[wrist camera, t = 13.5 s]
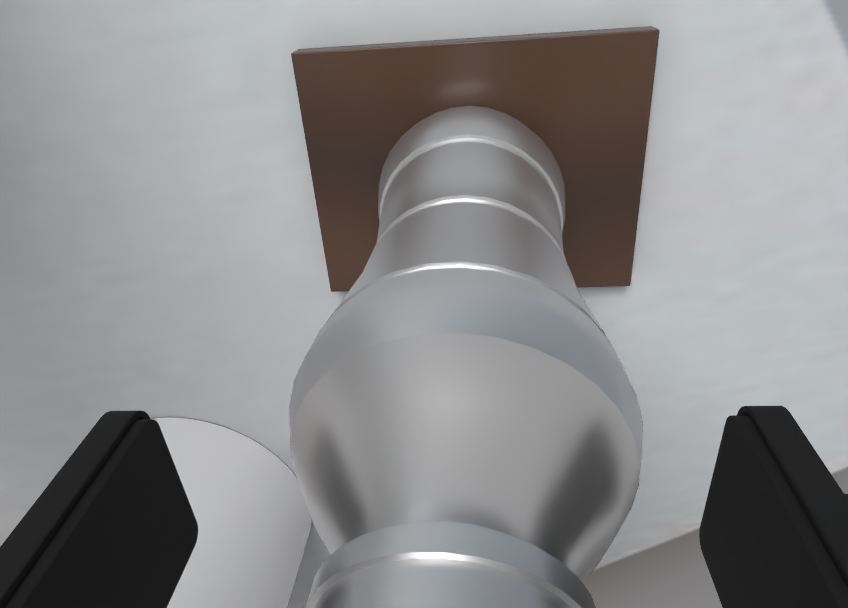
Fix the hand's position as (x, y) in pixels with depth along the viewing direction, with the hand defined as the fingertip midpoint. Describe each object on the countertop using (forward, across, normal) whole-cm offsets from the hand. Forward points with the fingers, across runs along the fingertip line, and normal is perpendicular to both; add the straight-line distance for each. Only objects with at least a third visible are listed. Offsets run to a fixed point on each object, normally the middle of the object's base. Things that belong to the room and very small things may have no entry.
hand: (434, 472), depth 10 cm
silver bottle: (+16, -1, 0) cm, 16 cm away
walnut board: (+17, -1, 0) cm, 17 cm away
